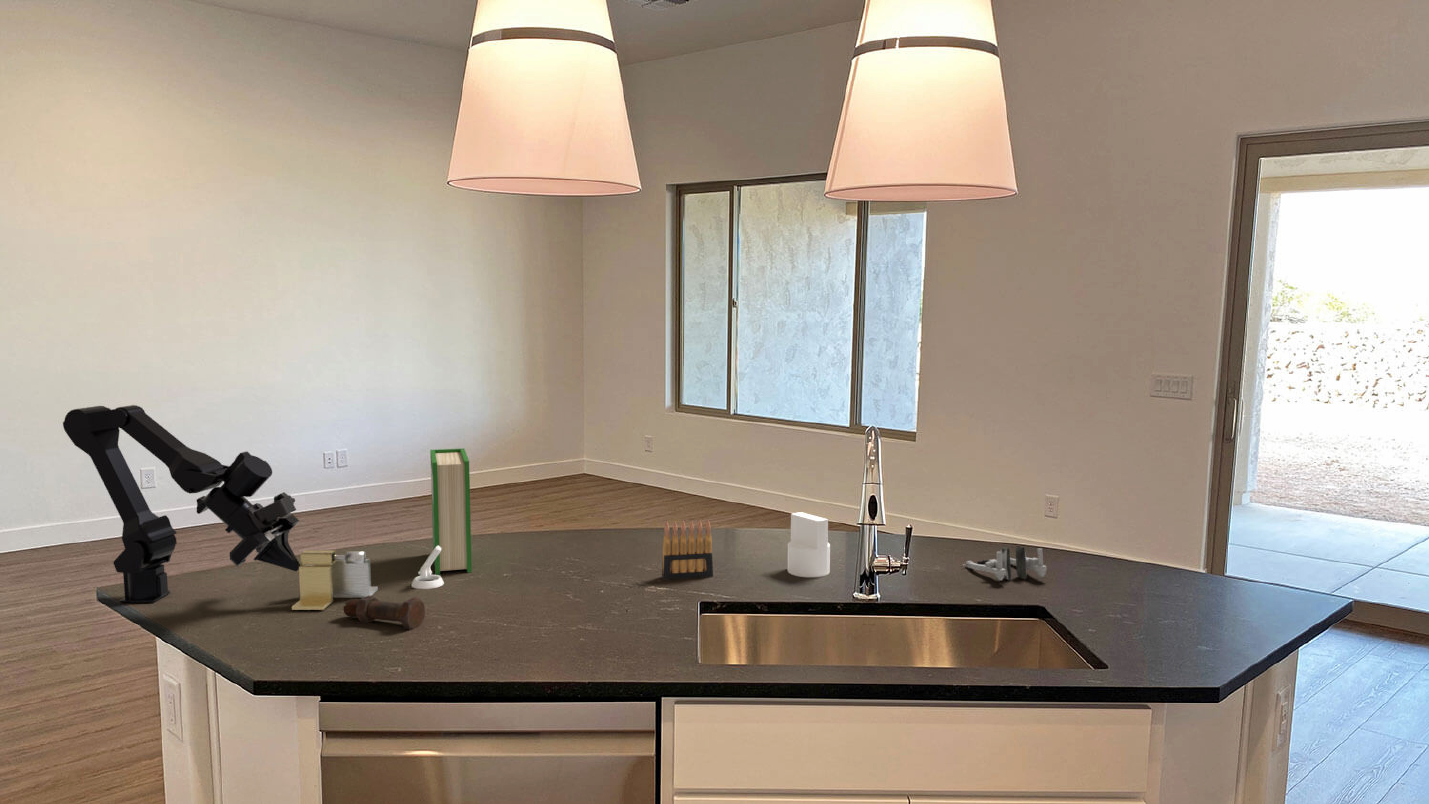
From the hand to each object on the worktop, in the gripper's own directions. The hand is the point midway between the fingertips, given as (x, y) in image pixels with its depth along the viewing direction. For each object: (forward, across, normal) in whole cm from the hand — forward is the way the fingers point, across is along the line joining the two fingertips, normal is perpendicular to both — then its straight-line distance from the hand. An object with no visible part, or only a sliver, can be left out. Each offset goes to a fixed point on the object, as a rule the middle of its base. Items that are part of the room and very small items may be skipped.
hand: (298, 569), depth 187 cm
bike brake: (+106, +21, -94) cm, 143 cm away
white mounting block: (+9, +5, +1) cm, 10 cm away
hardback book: (+20, +29, -10) cm, 37 cm away
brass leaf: (+7, -1, +2) cm, 7 cm away
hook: (+20, +13, -10) cm, 25 cm away
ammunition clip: (+57, +18, -47) cm, 76 cm away
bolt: (+18, -10, -8) cm, 23 cm away
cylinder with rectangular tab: (+76, +22, -65) cm, 102 cm away
